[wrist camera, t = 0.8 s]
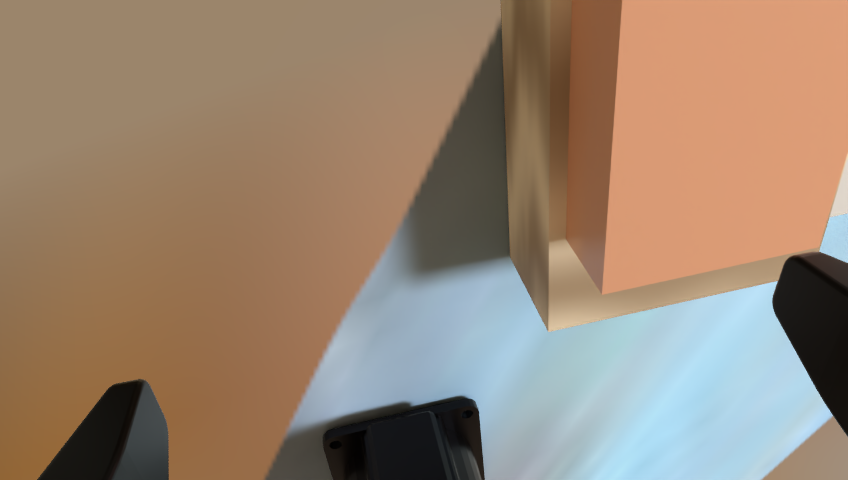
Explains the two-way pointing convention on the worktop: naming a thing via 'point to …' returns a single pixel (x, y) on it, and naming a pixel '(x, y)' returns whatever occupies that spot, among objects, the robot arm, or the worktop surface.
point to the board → (547, 183)
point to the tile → (702, 133)
